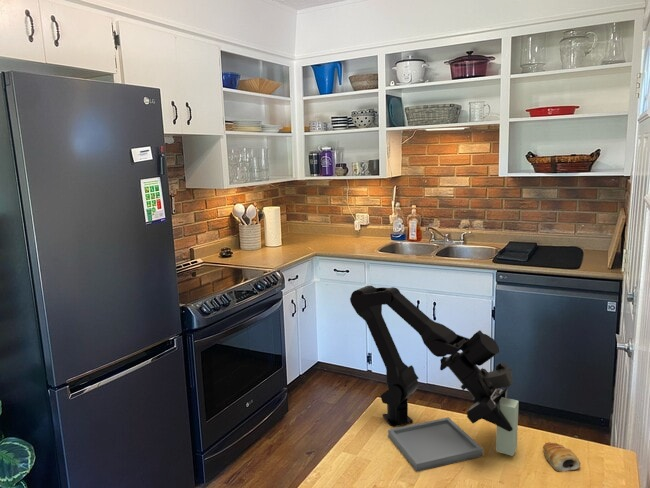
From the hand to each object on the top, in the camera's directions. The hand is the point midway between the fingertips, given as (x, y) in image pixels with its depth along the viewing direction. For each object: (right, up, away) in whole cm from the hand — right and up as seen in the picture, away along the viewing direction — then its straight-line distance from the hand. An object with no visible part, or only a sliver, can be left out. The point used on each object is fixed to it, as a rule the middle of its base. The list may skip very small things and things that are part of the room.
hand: (513, 426), depth 121 cm
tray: (-18, -7, +6) cm, 20 cm away
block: (-1, -6, +2) cm, 7 cm away
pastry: (+10, -8, -2) cm, 13 cm away
